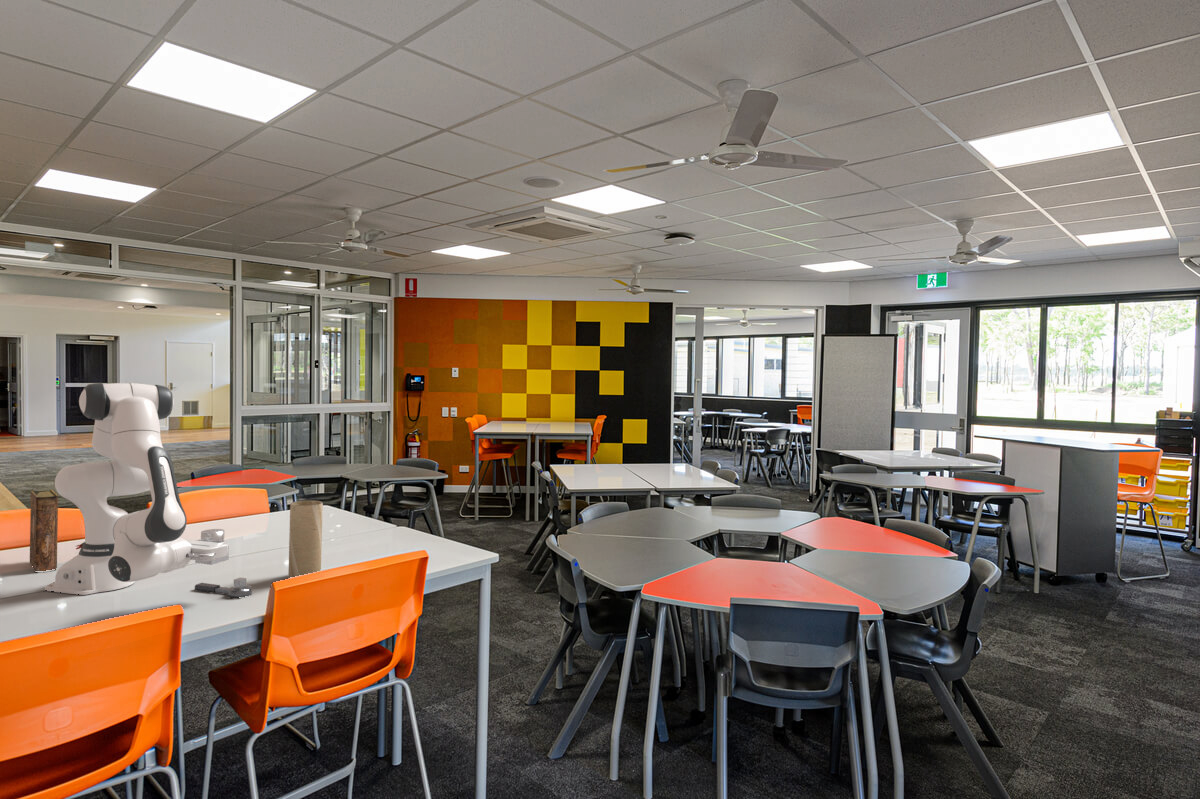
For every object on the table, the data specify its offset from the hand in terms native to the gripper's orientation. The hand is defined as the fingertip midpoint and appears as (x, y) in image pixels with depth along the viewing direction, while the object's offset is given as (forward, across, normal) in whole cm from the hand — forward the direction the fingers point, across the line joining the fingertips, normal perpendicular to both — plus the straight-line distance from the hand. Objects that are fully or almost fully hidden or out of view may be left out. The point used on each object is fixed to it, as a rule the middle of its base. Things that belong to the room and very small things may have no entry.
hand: (215, 542), depth 191 cm
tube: (+28, -10, +17) cm, 34 cm away
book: (+6, +77, +17) cm, 79 cm away
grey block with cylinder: (-1, 0, +5) cm, 5 cm away
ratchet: (+5, +2, +17) cm, 18 cm away
